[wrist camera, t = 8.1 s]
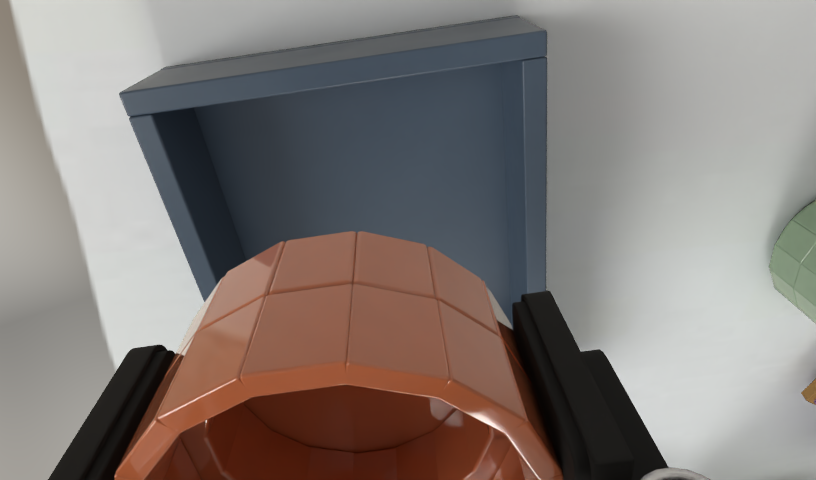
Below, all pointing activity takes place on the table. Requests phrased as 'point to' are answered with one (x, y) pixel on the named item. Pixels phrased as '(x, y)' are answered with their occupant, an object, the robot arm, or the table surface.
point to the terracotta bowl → (346, 374)
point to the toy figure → (810, 393)
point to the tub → (359, 148)
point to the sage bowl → (797, 261)
